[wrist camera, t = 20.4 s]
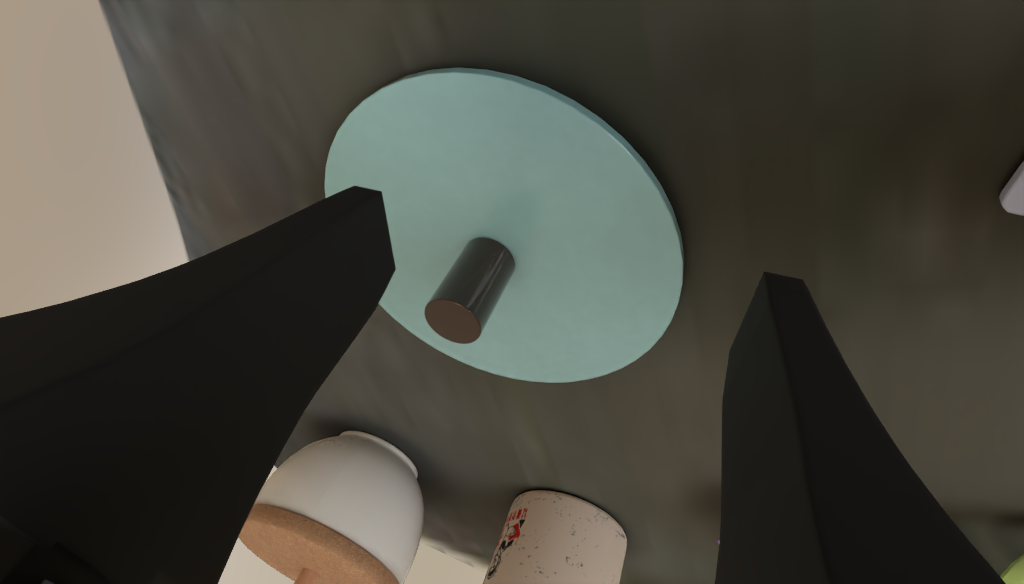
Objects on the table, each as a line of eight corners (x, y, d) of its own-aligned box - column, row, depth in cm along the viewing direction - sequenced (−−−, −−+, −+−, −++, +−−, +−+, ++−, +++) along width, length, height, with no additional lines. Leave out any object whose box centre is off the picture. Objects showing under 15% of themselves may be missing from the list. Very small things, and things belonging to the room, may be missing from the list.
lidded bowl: (319, 465, 50) (237, 589, 43) (296, 386, 41) (188, 525, 34) (447, 518, 48) (384, 658, 41) (452, 448, 39) (373, 610, 32)
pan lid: (736, 96, 17) (723, 180, 14) (649, 400, 29) (630, 489, 25) (296, 34, 21) (201, 88, 18) (371, 323, 33) (322, 390, 29)
